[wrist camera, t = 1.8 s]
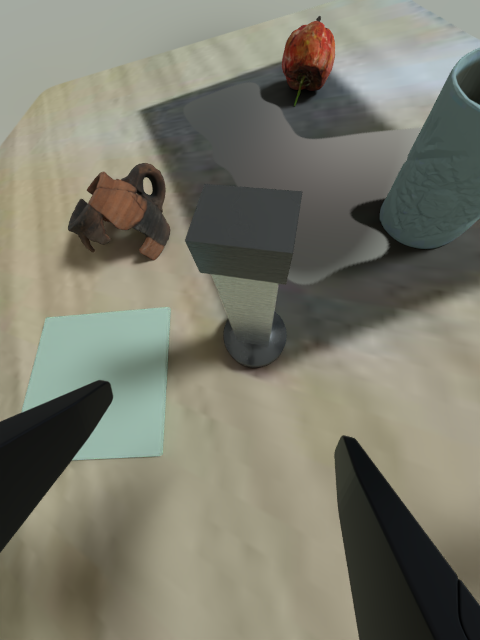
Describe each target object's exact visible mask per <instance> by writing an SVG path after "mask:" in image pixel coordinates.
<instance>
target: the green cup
mask: <svg viewBox="0 0 480 640" xmlns="http://www.w3.org/2000/svg"><path fill="white" fill-rule="evenodd" d="M379 219H380V221H381V222H382V225H383V228H384V229H385V230H386V231H387V232H388V234H389V235H390V236H392V237H393V238H394V239H396V240H397V241H398V242H400V243H402V244H404V245H407V246H410V247H415V248H421V249H431V248H437V247H440V246H443V245H445V244H448V243H450V242H451V241H453V240H454V239H455V238H457V237H458V236H460V235H461V234H462V233H464V232H465V231H466V230H467V229H468V228H470V227H471V226H472V225H473V224H474V223H475V222H476V221H477V220H479V219H480V48H477V49H475V50H474V51H472V52H470V53H468V54H466V55H465V56H464V57H462V58H461V59H460V60H459V61H458V63H457V64H456V65H455V66H454V68H453V69H452V71H451V73H450V75H449V77H448V78H447V80H446V82H445V84H444V86H443V88H442V90H441V92H440V94H439V96H438V98H437V100H436V102H435V104H434V106H433V108H432V110H431V112H430V114H429V116H428V118H427V120H426V122H425V124H424V125H423V127H422V129H421V132H420V133H419V135H418V137H417V139H416V141H415V143H414V145H413V147H412V149H411V150H410V153H409V154H408V158H407V161H406V162H405V163H404V164H403V166H402V168H401V170H400V172H399V174H398V176H397V178H396V180H395V182H394V184H393V186H392V188H391V190H390V192H389V193H388V195H387V197H386V199H385V200H384V202H383V204H382V206H381V210H380V218H379Z"/></svg>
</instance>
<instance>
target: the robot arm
mask: <svg viewBox="0 0 480 640" xmlns="http://www.w3.org/2000/svg"><path fill="white" fill-rule="evenodd" d="M112 401H113V392H112V388H111V384H110V382H108V381H104V380H97V381H95V382H92V383H90V384H88V385H85V386H83V387H81V388H78V389H76V390H74V391H71V392H69V393H67V394H64V395H62V396H59V397H57V398H55V399H52V400H50V401H48V402H45V403H43V404H41V405H38V406H36V407H34V408H31V409H29V410H27V411H24V412H22V413H20V414H17V415H15V416H13V417H10V418H8V419H5V420H3V421H1V422H0V552H1V551H2V550H3V549H4V547H5V546H6V545H7V543H8V542H9V541H10V540H11V538H12V537H13V536H14V534H15V533H16V532H17V530H18V529H19V528H20V527H21V525H22V524H23V523H24V521H25V520H26V519H27V518H28V516H29V515H30V514H31V512H32V511H33V510H34V508H35V507H36V506H37V505H38V503H39V502H40V501H41V499H42V498H43V497H44V496H45V494H46V493H47V492H48V490H49V489H50V488H51V486H52V485H53V484H54V483H55V481H56V480H57V479H58V477H59V476H60V475H61V474H62V472H63V471H64V470H65V468H66V467H67V466H68V464H69V463H70V462H71V461H72V459H73V458H74V457H75V455H76V454H77V453H78V451H79V450H80V449H81V448H82V446H83V445H84V444H85V442H86V441H87V440H88V438H89V437H90V435H91V434H92V432H93V431H94V429H95V428H96V426H97V425H98V423H99V422H100V420H101V418H102V417H103V415H104V414H105V412H106V411H107V409H108V408H109V406H110V404H111V403H112ZM335 473H336V488H337V502H338V511H339V518H340V524H341V530H342V537H343V543H344V549H345V555H346V561H347V567H348V573H349V579H350V585H351V592H352V598H353V604H354V610H355V616H356V622H357V628H358V634H359V640H480V605H479V604H478V602H477V601H476V600H475V598H474V597H473V596H472V594H471V593H470V592H469V590H468V589H467V588H466V586H465V585H464V584H463V582H462V581H461V580H460V579H458V576H457V574H456V573H455V572H454V570H453V569H452V568H451V566H450V565H449V564H448V562H447V561H446V560H445V558H444V557H443V556H442V554H441V553H440V552H439V550H438V549H437V548H436V546H435V545H434V544H433V542H432V541H431V539H430V538H429V537H428V535H427V534H426V533H425V531H424V530H423V529H422V527H421V526H420V525H419V523H418V522H417V521H416V519H415V518H414V517H413V515H412V514H411V513H410V511H409V510H408V509H407V507H406V506H405V505H404V503H403V502H402V501H401V499H400V498H399V496H398V495H397V494H396V492H395V491H394V490H393V488H392V487H391V486H390V484H389V483H388V482H387V480H386V479H385V478H384V476H383V475H382V474H381V472H380V471H379V470H378V468H377V467H376V466H375V464H374V463H373V462H372V460H371V459H370V458H369V456H368V455H367V453H366V452H365V451H364V449H363V448H362V447H361V445H360V444H359V443H358V441H357V440H356V439H355V438H353V437H349V436H344V435H343V436H341V438H340V440H339V442H338V445H337V447H336V449H335Z"/></svg>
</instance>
